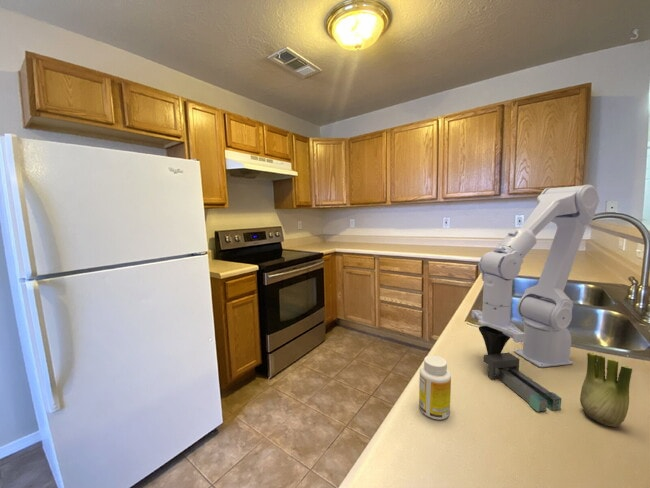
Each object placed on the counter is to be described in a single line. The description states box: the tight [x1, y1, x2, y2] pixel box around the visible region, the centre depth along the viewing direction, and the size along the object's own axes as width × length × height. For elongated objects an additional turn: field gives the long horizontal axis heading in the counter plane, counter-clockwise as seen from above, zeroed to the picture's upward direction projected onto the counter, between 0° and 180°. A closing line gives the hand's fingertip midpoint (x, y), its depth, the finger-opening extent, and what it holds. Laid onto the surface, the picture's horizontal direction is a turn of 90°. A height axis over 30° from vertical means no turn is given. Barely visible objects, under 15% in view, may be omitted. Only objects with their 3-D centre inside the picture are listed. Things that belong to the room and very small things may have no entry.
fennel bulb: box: [579, 351, 633, 428], centre depth 50 cm, size 6×5×12 cm
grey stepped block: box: [482, 351, 521, 380], centre depth 64 cm, size 7×3×4 cm, turn 98°
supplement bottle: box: [418, 355, 452, 420], centre depth 53 cm, size 6×6×10 cm
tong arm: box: [495, 368, 547, 412], centre depth 58 cm, size 2×12×2 cm, turn 7°
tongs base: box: [504, 367, 562, 412], centre depth 60 cm, size 4×15×2 cm, turn 8°
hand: (493, 357), depth 67 cm, fingers closed
